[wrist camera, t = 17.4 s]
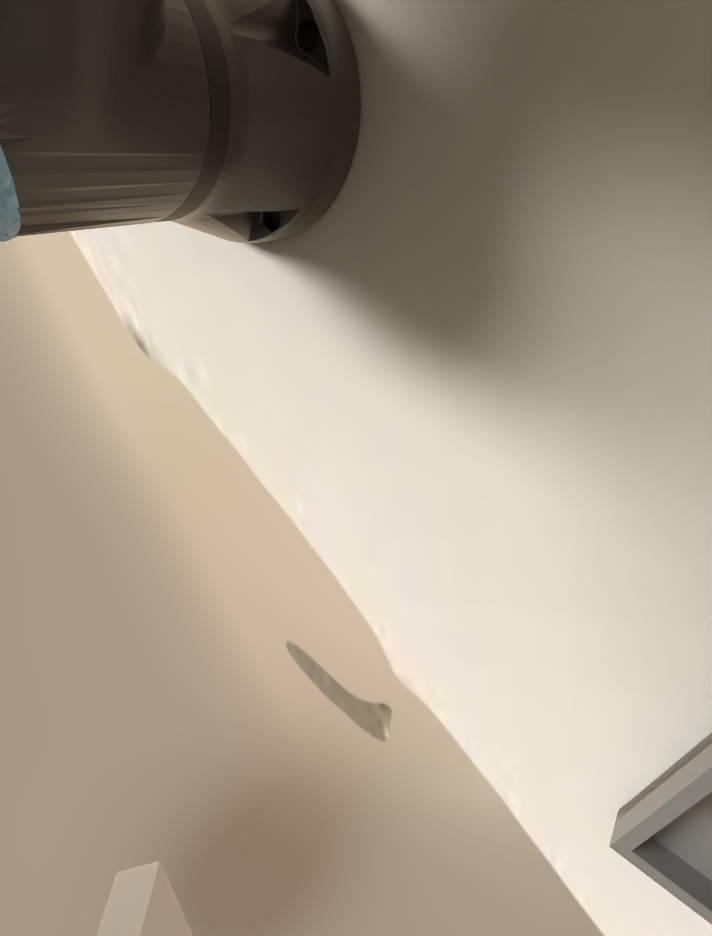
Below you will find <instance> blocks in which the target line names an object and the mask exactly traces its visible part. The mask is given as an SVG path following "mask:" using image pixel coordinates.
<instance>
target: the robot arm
mask: <svg viewBox="0 0 712 936" xmlns="http://www.w3.org/2000/svg"><path fill="white" fill-rule="evenodd" d="M359 116H360V89H359V78H358V70H357V64H356V59H355V54H354V50H353V46H352V43H351V39H350V36H349V34H348V31H347V28H346V25H345V23H344V21H343V18H342V16H341V14H340V12H339V10H338V8H337V6H336V5H335V3H334V1H333V0H0V241H3V242H4V241H8V240H11V239H12V238H14V237H16V236H25V235H35V234H45V233H54V232H64V231H74V230H84V229H94V228H104V227H114V226H123V225H133V224H143V223H152V222H161V221H173V222H176V223H179V224H182V225H185V226H187V227H190V228H193V229H196V230H199V231H202V232H205V233H208V234H211V235H214V236H216V237H219V238H222V239H225V240H229V241H233V242H239V243H260V242H267V241H274V240H281V239H285V238H288V237H291V236H294V235H296V234H298V233H300V232H302V231H303V230H305V229H306V228H308V227H309V226H311V225H312V224H313V223H314V222H315V221H317V220H318V219H319V218H320V217H321V216H322V215H323V214H324V212H325V211H326V210H327V209H328V208H329V206H330V205H331V203H332V202H333V201H334V199H335V197H336V196H337V194H338V192H339V190H340V189H341V187H342V185H343V183H344V180H345V178H346V176H347V173H348V170H349V168H350V165H351V161H352V158H353V155H354V150H355V146H356V141H357V135H358V128H359ZM96 936H192V933H191V931H190V929H189V927H188V924H187V922H186V920H185V917H184V915H183V913H182V911H181V908H180V906H179V904H178V902H177V899H176V897H175V895H174V893H173V890H172V888H171V886H170V883H169V881H168V879H167V877H166V875H165V872H164V870H163V868H162V866H161V863H160V861H158V862H154V863H150V864H147V865H143V866H139V867H135V868H131V869H128V870H124V871H120V872H117V874H116V877H115V881H114V883H113V887H112V890H111V893H110V896H109V899H108V902H107V905H106V908H105V911H104V914H103V917H102V920H101V923H100V926H99V929H98V932H97V935H96Z"/></svg>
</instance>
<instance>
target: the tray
mask: <svg viewBox="0 0 712 936" xmlns="http://www.w3.org/2000/svg"><path fill="white" fill-rule="evenodd" d="M609 847H611V848H612V849H613V850H615V851H616V852H617V853H619V854H620V855H621V856H623V857H624V858H625V859H626V860H628V861H629V862H630V863H632V864H633V865H634V866H636V867H637V868H638V869H640V870H641V871H642V872H644V873H645V874H646V875H647V876H649V877H650V878H651V879H653V880H654V881H655V882H657V883H658V884H659V885H661V886H662V887H663V888H665V889H666V890H667V891H669V892H670V893H671V894H672V895H674V896H675V897H676V898H678V899H679V900H680V901H682V902H683V903H684V904H686V905H687V906H688V907H690V908H691V909H692V910H693V911H695V912H696V913H697V914H699V915H700V916H701V917H703V918H704V919H705V920H707V921H708V922H709V923H711V924H712V733H711V734H710V735H709V736H707V737H706V738H705V739H704V740H703V741H701V742H700V743H699V744H698V745H697V746H695V747H694V748H693V749H692V750H691V751H689V752H688V753H687V754H686V755H685V756H683V757H682V758H681V759H680V760H679V761H677V762H676V763H675V764H674V765H673V766H671V767H670V768H669V769H668V770H667V771H665V772H664V773H663V774H662V775H661V776H659V777H658V778H657V779H656V780H655V781H653V782H652V783H651V784H650V785H649V786H647V787H646V788H645V789H644V790H643V791H641V792H640V793H639V794H638V795H637V796H635V797H634V798H633V799H632V800H631V801H629V802H628V803H627V804H626V805H625V806H623V807H622V808H621V809H620V810H619V811H618V814H617V818H616V822H615V826H614V830H613V834H612V838H611V842H610V846H609Z"/></svg>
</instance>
